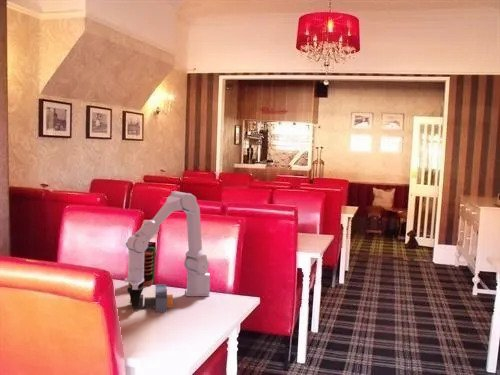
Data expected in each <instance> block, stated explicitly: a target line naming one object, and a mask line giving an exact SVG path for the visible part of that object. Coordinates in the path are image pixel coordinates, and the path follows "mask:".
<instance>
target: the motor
mask: <svg viewBox="0 0 500 375" xmlns="http://www.w3.org/2000/svg"><path fill="white" fill-rule="evenodd" d="M155 259H156V247H154V246H148V247H147V249H146V250H145V251H144V283H143V285H142V286H147V287H151V286H153V283H154V282H155V281H154V280H155V265H156V264H155V263H156V260H155Z"/></svg>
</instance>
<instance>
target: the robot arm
mask: <svg viewBox="0 0 500 375" xmlns="http://www.w3.org/2000/svg"><path fill="white" fill-rule="evenodd" d="M165 200H166V201H165V203H164V204H163V205H162V206H161V208H160V209H159V210H158V211H157V213H156V214H155V216H154V217H152V219H148V220H146V221H144V222H143V223H142V224H143V225H142V226H141V227H140V228H139V229H138V230H137V231H136V232H135V233H134V234H133V235H131V236H129V237H128V239H127V241H126V242H125V247H126V249H127V250H128V265H127V266H128V270H127V272H128V273H127V274H128V275H127V277H126V278H124V282H126V283H128V284H129V287H127V292H128V295H129V296H130V297H129V299H131V308H132V307H138V304H139V299H140V295H141V294H142V293H143V292H144V288H143V287H142V285H143V283H144V251H145V250H146V249H147V247H149V243H150V241H151V239H153V237H154V236H155V235H156V234H157V233H158V232H159V230H160V225H161V224H163V222H164V221H165V220H166V219H167V218H168V217H169V216H170V215H171V214H172V213H173V212H178V211H183V212H184V213H185V214H186V225H187V226H186V227H187V242H188V243H187V246H188V250H187V252H185V259H184V261H183V264H184V267H185V269H186V272H187V275H186V276H187V277H186V278H187V279H186V280H187V281H186V289H185V291H184V292H185V296H186V297H210V290H211V274H210V272H208V270H209V268H210V263H209V260H208V259H207V258H208V257H207V256H208V255H207V254H206V253H205V252H204V250H203V243H202V242H203V241H202V226H201V209H200V205H199V204H198V202H197V197H196V196H195V195H193V194H192V193H191V192H190V193H189V192H187V193H186V192H181V191H177V190H175V191H172V192H171V193H170V195H169V196H168V197H167V198H166V199H165Z"/></svg>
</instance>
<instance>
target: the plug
mask: <svg viewBox="0 0 500 375" xmlns="http://www.w3.org/2000/svg"><path fill="white" fill-rule="evenodd" d="M173 299H174V296H173V294H167V308H173V306H174V305H173V301H174V300H173ZM129 304H131V298H129ZM155 307H156V297H155V296H153V297H151V296H150V297H145V296H144V294H142V293H141V295H140V299H139V304H138V307H132V306H131V309H134V310H135V309H140V310H141V309H143V308H155Z"/></svg>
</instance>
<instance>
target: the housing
mask: <svg viewBox="0 0 500 375" xmlns="http://www.w3.org/2000/svg"><path fill="white" fill-rule="evenodd" d="M167 291H168V290H167V284H161V283H160V284H155V294H154V295H155V296H154V297H156V307H154V308H155V313H167V308H168V307H167V295H168V292H167Z"/></svg>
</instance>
